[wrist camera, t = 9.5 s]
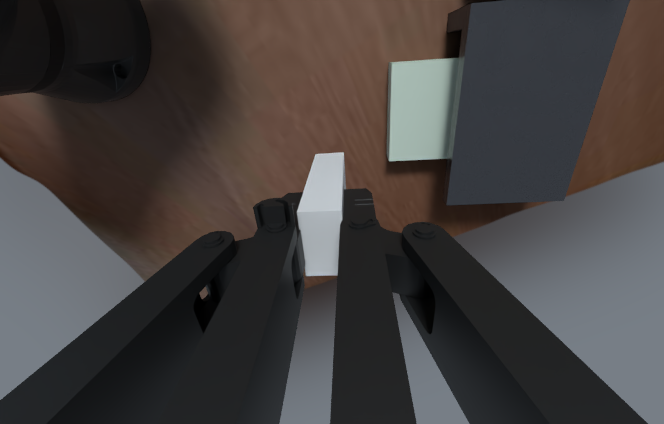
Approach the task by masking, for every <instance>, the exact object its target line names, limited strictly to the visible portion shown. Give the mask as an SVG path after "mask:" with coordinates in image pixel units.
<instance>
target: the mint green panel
mask: <svg viewBox="0 0 664 424" xmlns="http://www.w3.org/2000/svg"><path fill="white" fill-rule="evenodd" d="M458 60H459V58H445V59H431V60H417V61H403V62H389V69H388V114H387V157H388V160H389V161H406V160H428V159H447V156H448V147H449V139H450V130H451V121H452V112H453V104H454V95H455V86H456V77H457V69H458Z"/></svg>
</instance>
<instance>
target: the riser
mask: <svg viewBox="0 0 664 424" xmlns="http://www.w3.org/2000/svg"><path fill="white" fill-rule="evenodd" d="M629 1H630V0H502V1H492V2H481V3H471V4H469V5H467V6H464V7H462V8H460V9H458V10H455V11H453V12H451V13H449V14H448V24H447V33H449V32H461V31H462V34H461V43H460V51H459V60H458V69H457V77H456V86H455V95H454V104H453V112H452V121H451V130H450V139H449V147H448V156H447V165H446V173H445V182H444V191H443V201H444V203H445V204H446V205H470V204H494V203H519V202H544V201H564V199H565V196H566V193H567V190H568V187H569V184H570V180H571V177H572V174H573V171H574V168H575V165H576V162H577V159H578V156H579V153H580V150H581V147H582V144H583V141H584V138H585V135H586V132H587V129H588V126H589V123H590V120H591V117H592V114H593V111H594V108H595V104H596V101H597V98H598V95H599V92H600V89H601V86H602V83H603V80H604V77H605V74H606V71H607V68H608V65H609V62H610V59H611V56H612V53H613V50H614V47H615V44H616V41H617V38H618V35H619V31H620V28H621V25H622V22H623V19H624V16H625V13H626V10H627V7H628V4H629Z"/></svg>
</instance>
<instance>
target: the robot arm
mask: <svg viewBox="0 0 664 424" xmlns="http://www.w3.org/2000/svg"><path fill="white" fill-rule="evenodd" d="M150 50H151V47H150V35H149V29H148V24H147V21H146V17H145V14H144V12H143V9H142V6H141V4H140V2H139V0H0V96H4V95H12V94H19V93H30V92H33V93H38V94H42V95H47V96H51V97H56V98H60V99H65V100H70V101H74V102H79V103H102V102H108V101H113V100H118V99H121V98H123V97H126V96H127V95H129V94H130V93H132V92H133V91H134V90H135V89H136V88H137V87H138V86H139V85H140V84H141V82H142V81H143V79H144V77H145V75H146V72H147V69H148V66H149V61H150ZM253 209H254V214H255V218H256V222H257V227H258V229H257V231H256V233H255V235H254V237H251V238H248V239H244V240H239V241H235V239H234V236H233V235H232V234H231V233H230V232H226V231H215V232H210V233H208V234H206V235H204V236H202V237H200V238H199V239H197V240H196V241H194V242H193V243H192V244H191V245H190V246H188V247H187V248H186V249H185V250H183V251H182V252H181V253H180V254H179V255H177V256H176V257H175V258H174V259H172V260H171V261H170V262H169V263H168V264H166V265H165V266H164V267H163V268H161V269H160V270H159V271H158V272H157V273H155V274H154V275H153V276H152V277H150V278H149V279H148V280H147V281H146V282H144V283H143V284H142V285H141V286H140V287H138V288H137V289H136V290H135V291H133V292H132V293H131V294H130V295H128V296H127V297H126V298H125V299H124V300H122V301H121V302H120V303H119V304H117V305H116V306H115V307H114V308H113V309H111V310H110V311H109V312H108V313H106V314H105V315H104V316H103V317H102V318H100V319H99V320H98V321H97V322H96V323H94V324H93V325H92V326H91V327H89V328H88V329H87V330H86V331H84V332H83V333H82V334H81V335H80V336H78V337H77V338H76V339H75V340H73V341H72V342H71V343H70V344H69V345H67V346H66V347H65V348H64V349H62V350H61V351H60V352H59V353H58V354H56V355H55V356H54V357H53V358H51V359H50V360H49V361H48V362H47V363H45V364H44V365H43V366H42V367H40V368H39V369H38V370H37V371H36V372H34V373H33V374H32V375H31V376H29V377H28V378H27V379H26V380H25V381H23V382H22V383H21V384H20V385H18V386H17V387H16V388H15V389H14V390H12V391H11V392H10V393H9V394H7V395H6V396H5V397H4V398H3V399H1V400H0V424H279V422H280V416H281V411H282V406H283V400H284V395H285V389H286V383H287V378H288V372H289V367H290V361H291V357H292V351H293V345H294V340H295V335H296V329H297V323H298V318H299V313H300V307H301V302H302V296H303V291H304V286H305V285H304V277H303V272H304V267H305V271H306V276H326V275H338V277H337V298H336V299H337V301H336V318H335V338H334V358H333V379H332V399H331V420H330V424H416V418H415V413H414V407H413V402H412V397H411V392H410V386H409V381H408V375H407V370H406V364H405V359H404V353H403V348H402V343H401V337H400V333H399V327H398V321H397V316H396V310H395V305H394V300H393V294H392V292H394V293H398V294H399V295H400V298H401V301H402V303H403V305H404V306H405V308H406V310H407V312H408V314H409V315H410V317H411V319H412V321H413V323H414V324H415V326H416V328H417V330H418V331H419V333H420V335H421V337H422V339H423V341H424V342H425V344H426V346H427V348H428V349H429V351H430V353H431V354H432V357H433V359H434V360H435V362H436V364H437V366H438V368H439V369H440V371H441V373H442V375H443V377H444V378H445V380H446V382H447V384H448V385H449V387H450V389H451V391H452V393H453V395H454V396H455V398H456V400H457V402H458V404H459V405H460V407H461V409H462V411H463V413H464V414H465V416H466V418H467V420H468V421H469V423H470V424H648V423H647V422H646V421H644V419H642V418H641V417H640V416H639V415H638V414H637V413H636V412H635V411H634V410H633V409H632V408H631V407H630V406H629V405H628V404H627V403H625V401H624V400H622V399H621V398H620V397H619V396H618V395H617V394H616V393H615V392H614V391H613V390H612V389H611V388H610V387H609V386H608V385H607V384H606V383H605V382H604V381H603V380H602V379H600V378H599V377H598V376H597V375H596V374H595V373H594V372H593V371H592V370H591V369H590V368H589V367H588V366H587V365H586V364H585V363H584V362H583V361H582V360H581V359H579V358H578V357H577V356H576V355H575V354H574V353H573V352H572V351H571V350H570V349H569V348H568V347H567V346H566V345H565V344H564V343H563V342H562V341H561V340H560V339H559V338H557V337H556V336H555V335H554V334H553V333H552V332H551V331H550V330H549V329H548V328H547V327H546V326H545V325H544V324H543V323H542V322H541V321H540V320H539V319H538V318H536V317H535V316H534V315H533V314H532V313H531V312H530V311H529V310H528V309H527V308H526V307H525V306H524V305H523V304H522V303H521V302H520V301H519V300H518V299H517V298H515V297H514V296H513V295H512V294H511V293H510V292H509V291H508V290H507V289H506V288H505V287H504V286H503V285H502V284H501V283H499V281H497V279H496V278H494V277H493V276H492V275H491V274H490V273H489V272H488V271H487V270H486V269H485V268H484V267H483V266H482V265H481V264H480V263H479V262H477V260H476V259H475V258H473V257H472V256H471V255H470V254H469V253H468V252H467V251H466V250H465V249H464V248H463V247H462V246H461V245H460V244H459V243H458V242H457V241H456V240H455V239H454V238H452V237H451V236H450V235H449V234H448V233H447V232H446V231H445V230H444V229H443V228H441V227H440V226H438V225H435V224H432V223H428V222H416V223H412V224H408V225H407V226H406V227H404V229H403V231H402V233H398V232H392V231H389V230H386V229H384V228H382V227H380V224H379V222H378V220H377V219H376V215H375V209H374V204H373V198H372V193H371V192H370V191H369V190H367V189H366V188H364V189H346V182H345V164H344V152H343V153H326V154H316V155H315V158H314V161H313V164H312V167H311V170H310V173H309V176H308V179H307V182H306V185H305V189H304V192H300V193H288V194H286V195H285V196H284V197H282V198H272V199H267V200H264V201H261V202H259V203H257V204H256V205H255V206H254V207H253ZM205 286H206V289H207V291H208V295H207V296H206V297H205V298H204V299H201V297H200V294H199V293H200V292H201V291H202V289H203V288H204V287H205Z"/></svg>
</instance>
